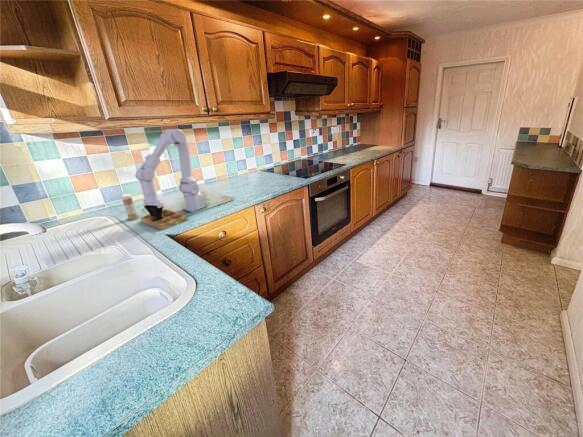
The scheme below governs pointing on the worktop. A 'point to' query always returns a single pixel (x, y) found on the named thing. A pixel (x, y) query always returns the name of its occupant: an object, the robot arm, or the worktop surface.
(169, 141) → the robot arm
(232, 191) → the worktop surface
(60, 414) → the worktop surface
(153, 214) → the token
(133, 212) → the sprinkles bottle
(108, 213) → the worktop surface
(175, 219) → the grid
